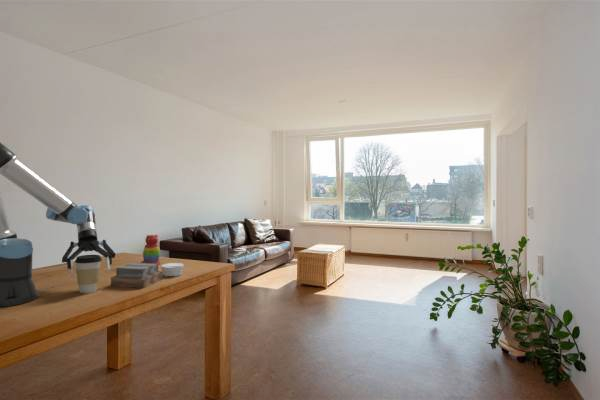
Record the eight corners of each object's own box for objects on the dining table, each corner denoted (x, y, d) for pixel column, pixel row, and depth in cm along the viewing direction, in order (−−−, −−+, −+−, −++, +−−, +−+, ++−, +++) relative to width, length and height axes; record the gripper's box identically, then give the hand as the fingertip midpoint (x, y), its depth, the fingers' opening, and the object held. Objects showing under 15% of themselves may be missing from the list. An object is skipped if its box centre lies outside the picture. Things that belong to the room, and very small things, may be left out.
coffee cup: (93, 286, 150) (94, 253, 150) (105, 290, 145) (106, 256, 145) (69, 291, 142) (70, 256, 142) (81, 295, 137) (82, 259, 137)
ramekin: (163, 278, 168) (164, 268, 168) (158, 273, 177) (158, 264, 177) (186, 275, 175) (186, 265, 175) (180, 271, 184) (180, 262, 184)
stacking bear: (157, 262, 206) (158, 233, 206) (163, 264, 198) (163, 235, 198) (139, 264, 199) (139, 234, 199) (143, 267, 191) (144, 236, 191)
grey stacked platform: (143, 288, 150) (143, 270, 150) (110, 286, 152) (111, 268, 152) (162, 279, 166) (162, 263, 166) (132, 277, 168) (132, 261, 168)
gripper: (116, 237, 166) (121, 273, 155) (53, 240, 150) (55, 281, 139) (118, 227, 162) (124, 264, 151) (54, 230, 146) (56, 271, 135)
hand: (91, 272), depth 145 cm, fingers open, 13 cm apart
